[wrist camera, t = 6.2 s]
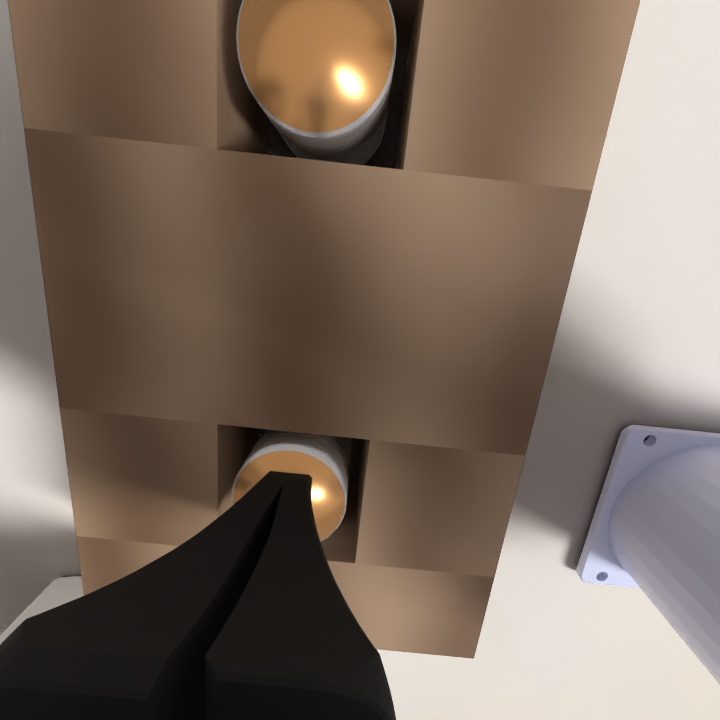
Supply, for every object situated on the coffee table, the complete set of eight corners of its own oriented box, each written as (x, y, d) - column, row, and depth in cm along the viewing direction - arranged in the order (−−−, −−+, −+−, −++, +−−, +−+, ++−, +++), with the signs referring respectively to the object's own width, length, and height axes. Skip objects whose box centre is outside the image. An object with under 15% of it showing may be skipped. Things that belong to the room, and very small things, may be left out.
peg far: (356, 399, 15) (351, 455, 11) (348, 474, 16) (341, 553, 12) (270, 390, 15) (231, 443, 11) (267, 466, 16) (231, 543, 12)
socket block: (579, -80, 11) (713, -291, 7) (447, 560, 18) (473, 658, 13) (118, -135, 11) (-42, -386, 7) (156, 531, 18) (87, 620, 13)
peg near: (392, 61, 12) (406, -48, 8) (379, 180, 13) (386, 142, 9) (283, 48, 12) (236, -68, 8) (278, 169, 13) (234, 125, 9)
